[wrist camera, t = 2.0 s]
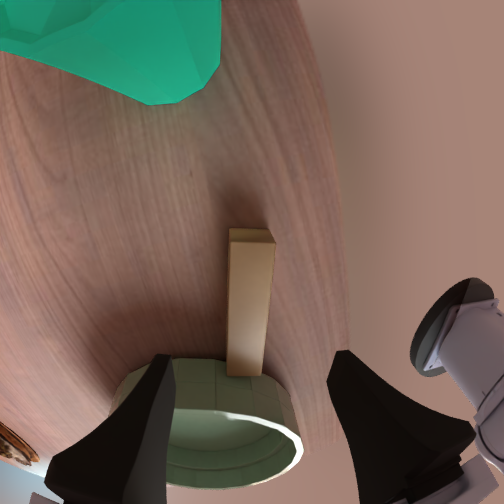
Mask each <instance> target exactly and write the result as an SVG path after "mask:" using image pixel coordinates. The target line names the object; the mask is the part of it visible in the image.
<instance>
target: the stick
mask: <svg viewBox="0 0 504 504" xmlns="http://www.w3.org/2000/svg"><path fill="white" fill-rule="evenodd" d="M275 250H276V242H275V240H274V238H273V236H272V234H271V232H270V230H269V229H245V228H230V229H229V245H228V274H227V311H226V373H227V376H261V372H262V364H263V357H264V348H265V340H266V332H267V324H268V315H269V306H270V297H271V288H272V279H273V270H274V260H275Z"/></svg>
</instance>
